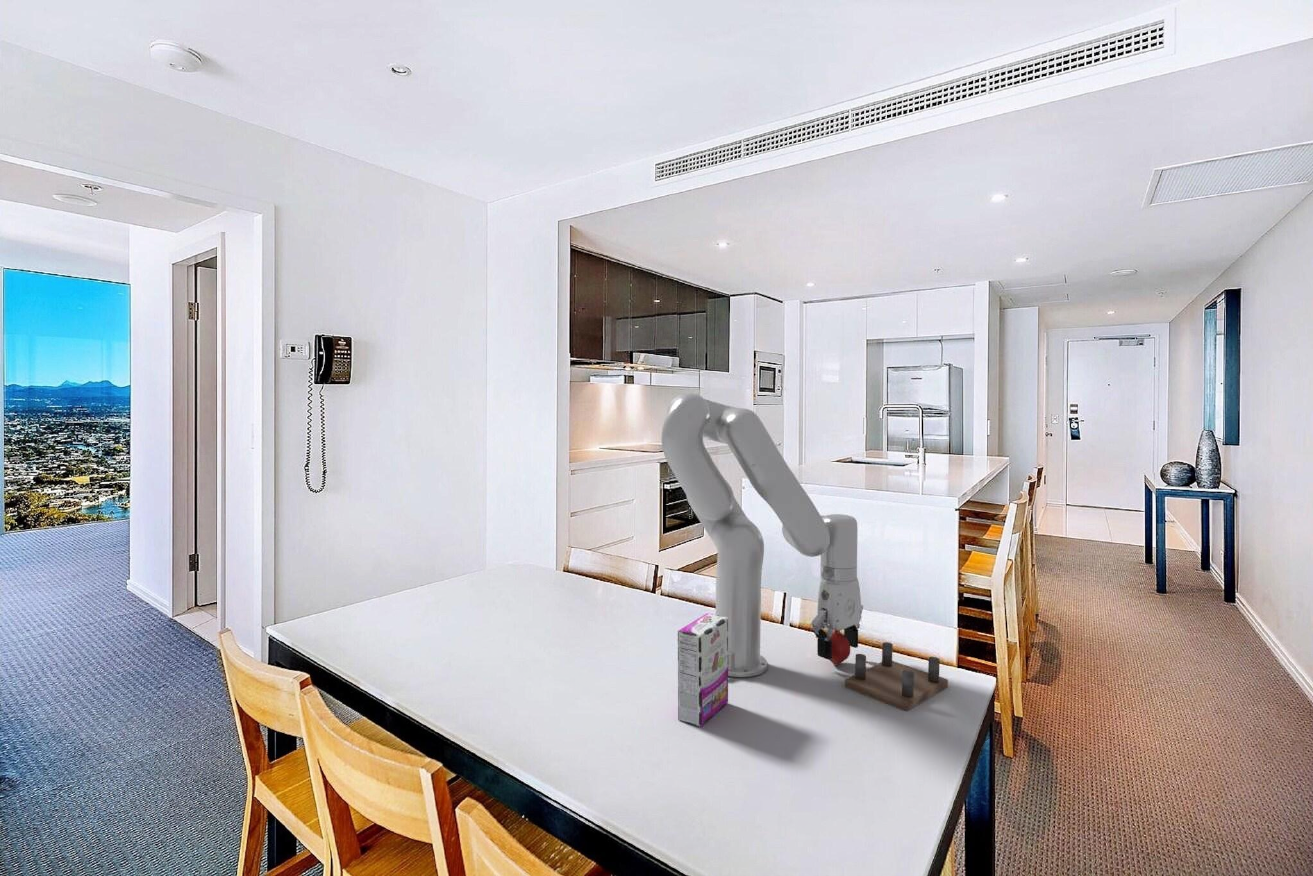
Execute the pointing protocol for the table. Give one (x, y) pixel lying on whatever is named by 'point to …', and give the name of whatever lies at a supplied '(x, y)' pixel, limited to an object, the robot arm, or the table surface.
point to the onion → (839, 648)
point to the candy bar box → (702, 669)
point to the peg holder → (896, 680)
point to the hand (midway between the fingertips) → (838, 651)
